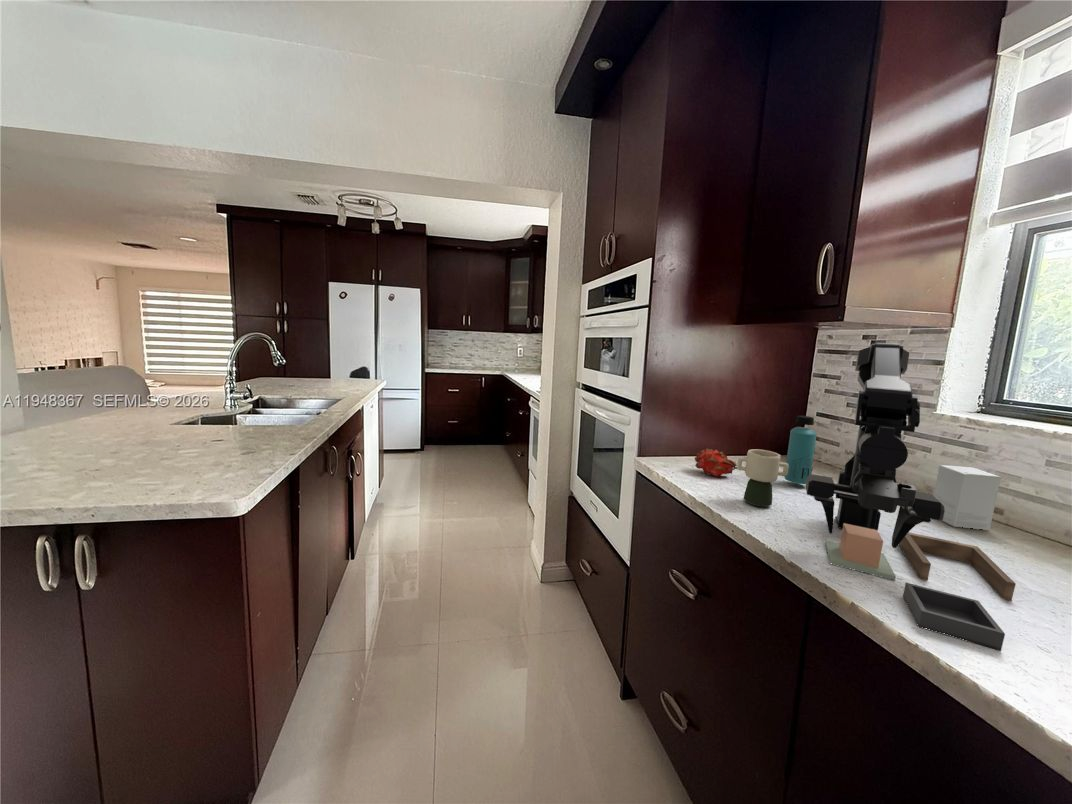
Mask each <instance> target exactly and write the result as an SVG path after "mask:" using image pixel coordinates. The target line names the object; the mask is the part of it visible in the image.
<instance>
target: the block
mask: <svg viewBox="0 0 1072 804" xmlns="http://www.w3.org/2000/svg"><path fill="white" fill-rule="evenodd" d="M839 543H840V547H839V548H840V551H841V554H842V557H843V559H845V560H849V561H853V562H857V563H861V564H865V565H869V566H873V567H877V568H878V567H879V561H880V556H881V553H882V551H883V544H884V540H883V538H882V536H881V535H880V532H879V531H877V530H874V529H869V528H864V527H860V526H855V525H850V524H845V523H843V529H841V536H840V541H839Z"/></svg>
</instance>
